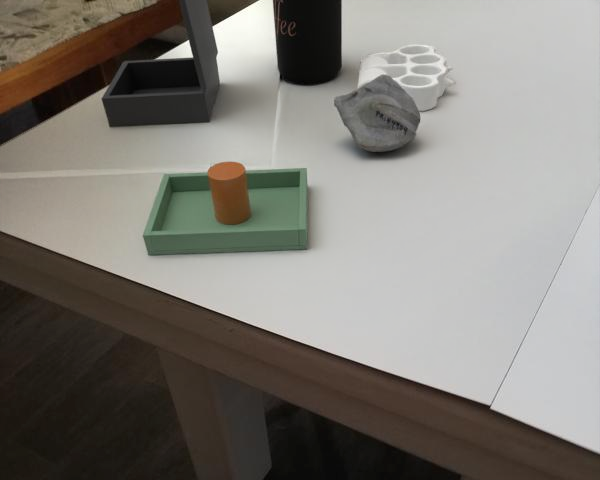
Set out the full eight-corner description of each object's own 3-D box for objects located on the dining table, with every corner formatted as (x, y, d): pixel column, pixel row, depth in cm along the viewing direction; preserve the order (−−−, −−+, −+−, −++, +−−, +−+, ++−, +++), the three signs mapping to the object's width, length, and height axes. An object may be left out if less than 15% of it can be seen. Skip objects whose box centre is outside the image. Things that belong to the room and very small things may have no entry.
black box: (111, 133, 87) (101, 98, 83) (131, 93, 97) (123, 60, 93) (210, 128, 86) (204, 93, 82) (220, 89, 96) (216, 55, 92)
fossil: (337, 163, 77) (337, 99, 71) (332, 133, 83) (331, 71, 77) (422, 156, 77) (429, 92, 71) (410, 127, 83) (415, 65, 77)
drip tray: (148, 255, 65) (142, 235, 63) (168, 192, 74) (163, 173, 72) (306, 249, 64) (305, 229, 62) (307, 186, 73) (306, 167, 71)
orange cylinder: (213, 225, 67) (205, 180, 63) (217, 206, 70) (209, 162, 66) (249, 224, 67) (243, 178, 63) (252, 205, 70) (246, 160, 66)
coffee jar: (275, 65, 102) (265, -65, 88) (336, 59, 102) (336, -72, 89) (281, 89, 95) (271, -49, 81) (346, 82, 95) (347, -56, 82)
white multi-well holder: (361, 67, 99) (449, 66, 97) (355, 112, 87) (456, 111, 85) (361, 45, 97) (452, 43, 95) (356, 88, 85) (459, 87, 83)
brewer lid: (167, -46, 71) (210, -54, 70) (185, -72, 81) (223, -79, 80) (201, 90, 82) (238, 84, 82) (213, 53, 92) (246, 48, 91)
